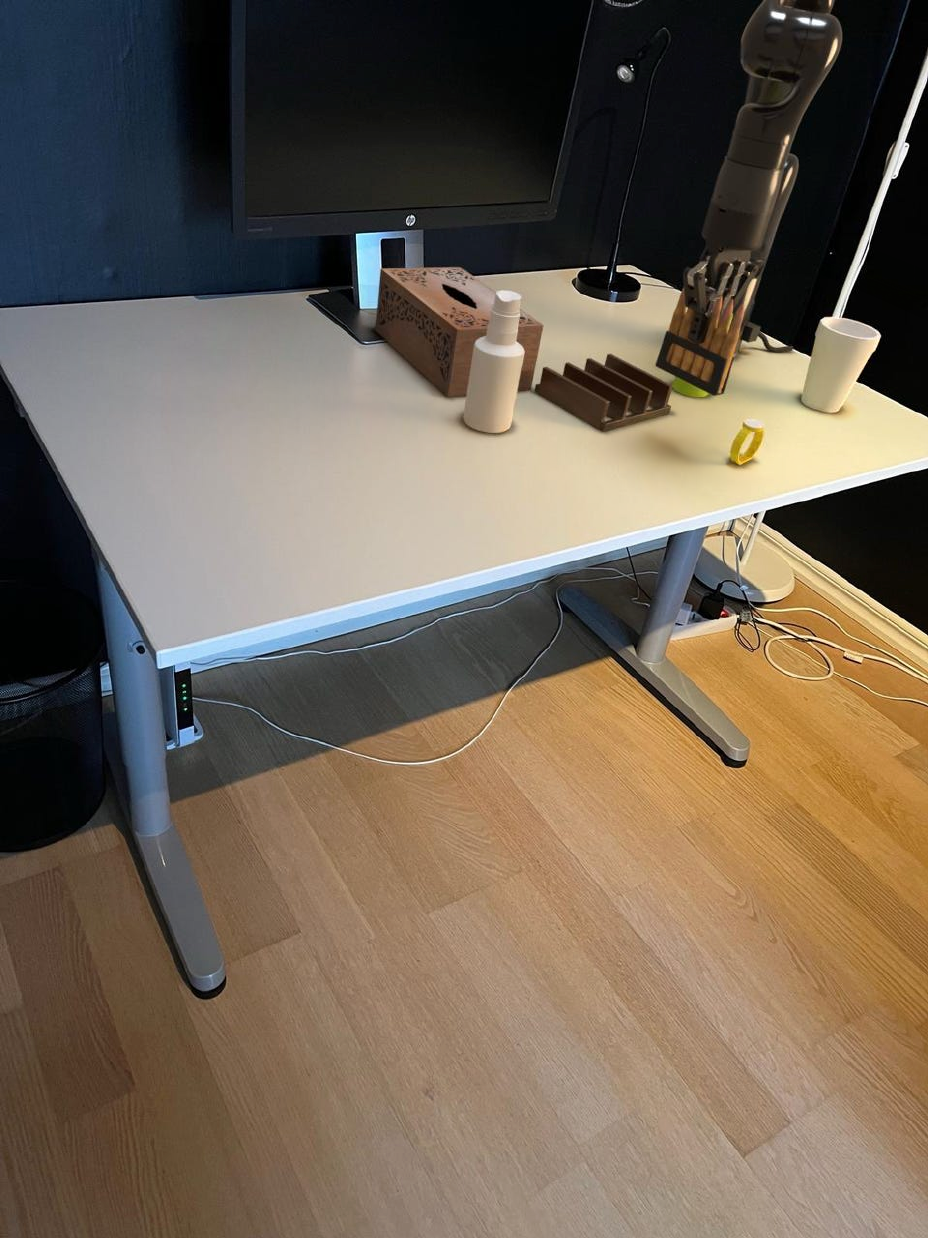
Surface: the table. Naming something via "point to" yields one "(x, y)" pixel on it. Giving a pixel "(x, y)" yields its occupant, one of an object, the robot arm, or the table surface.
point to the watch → (748, 427)
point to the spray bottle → (496, 368)
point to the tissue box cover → (444, 323)
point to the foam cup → (837, 361)
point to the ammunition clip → (701, 347)
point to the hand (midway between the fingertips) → (700, 340)
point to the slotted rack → (606, 392)
